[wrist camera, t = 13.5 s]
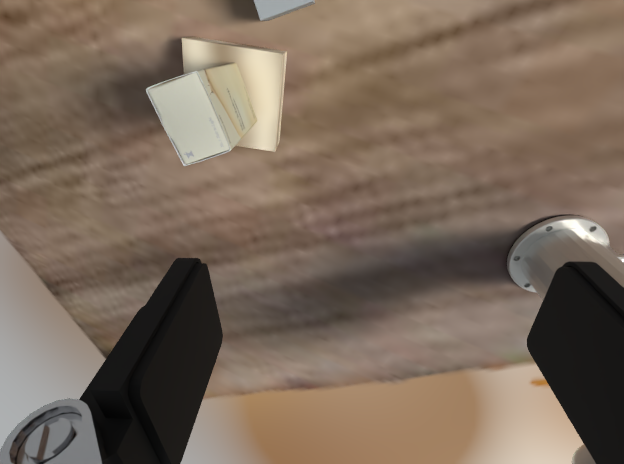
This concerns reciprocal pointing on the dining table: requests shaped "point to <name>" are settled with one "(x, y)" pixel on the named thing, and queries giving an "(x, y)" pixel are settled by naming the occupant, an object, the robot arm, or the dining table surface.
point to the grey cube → (279, 7)
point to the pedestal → (247, 82)
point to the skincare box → (204, 111)
